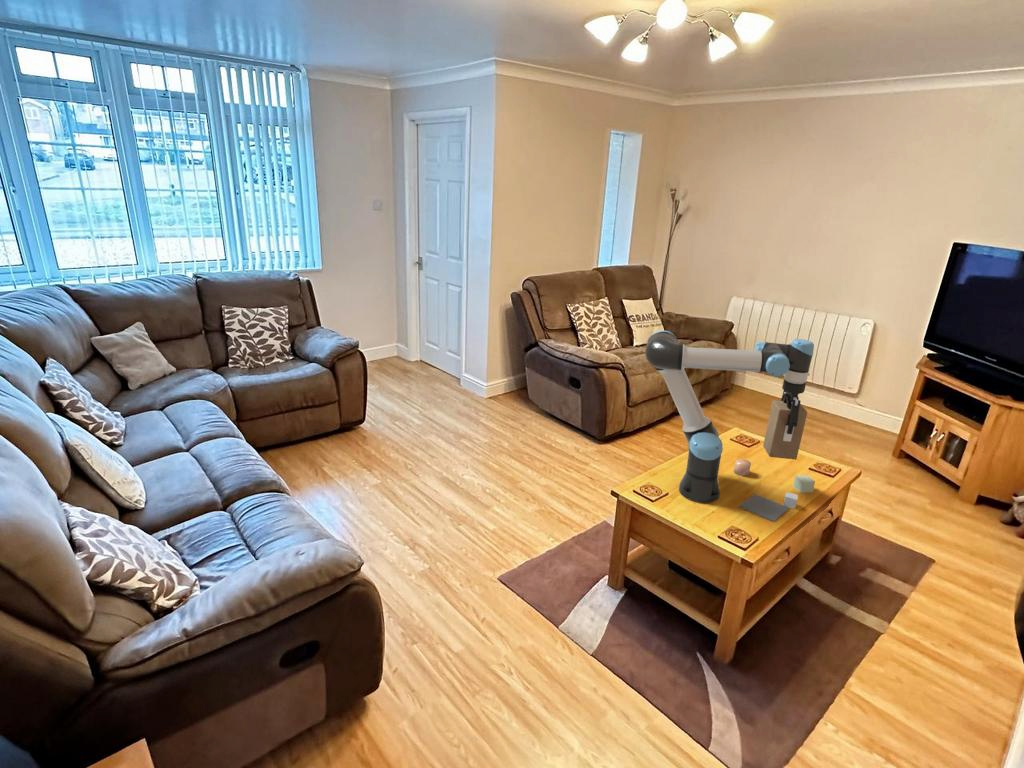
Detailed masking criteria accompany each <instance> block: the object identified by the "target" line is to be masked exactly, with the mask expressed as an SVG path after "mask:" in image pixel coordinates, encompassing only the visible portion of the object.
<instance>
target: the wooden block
mask: <svg viewBox="0 0 1024 768" xmlns="http://www.w3.org/2000/svg"><path fill="white" fill-rule="evenodd" d="M771 401H772V402H771V407H770V409H769V410H770V411H769V416H768V420H767V421H768V422H767V426H766V429H765V430H766V431H765V433H764V434H765V435H764V439H763V444H762V445H763V446H762V447H763V448H764V449H765V450H764V451H766V454H767V455H768V457H769V458H777V459H778V458H779V459H785V460H797V459H798V454H799V450H800V446H801V441H802V437H803V433H804V429H805V425H806V420H807V416H808V411H807V409H805V407H804V406H803V405H802V404H801V403H800V406H799V413H798V421H797V427H795V426H794V430H793V434H792V439H791V442H789V441H783V436H784V432H785V427H786V425H785V424H787V420H788V416H789V414H790V412H791V409H788V408H787V403H784V402H783V401H781V400H775V399H774V400H771Z"/></svg>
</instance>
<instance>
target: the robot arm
mask: <svg viewBox="0 0 1024 768" xmlns="http://www.w3.org/2000/svg"><path fill="white" fill-rule="evenodd" d="M814 348H815V343H814V342H813V341H811V340H807V339H802V338H799V339H798V338H795V339H792V341H791V343H790V344H789V343H788V344H786V343H777V342H768V341H758V342H756V343H755V345H754V348H753V350H750V349H747V350H746V349H732V348H731V349H728V348H711V347H710V348H709V347H690V346H689V347H688V346H686V345H685V344H684V343H683V344H681V343H679V341H678V338H677V337H676V335H675V334H673V332H671V331H668V330H658V331H656V332H654V333H653V334H651V335H650V336H649V338H648V339H647V343H646V347H645V354H644V355H645V359H646V360H647V362H648V363H649V365H651V366H652V367H654V369H655V371H656V372H658V373H660V374H661V376H662V378H663V379H664V382H665V384H666V386H667V389H668V391H669V393H670V396H671V397H672V401H673V402H674V404H675V406H676V407H675V408H677V411H678V413H679V416H680V418H681V420H682V422H683V426H682V430H681V431H682V432H683V434H684V436H685V438H686V441H687V443H688V453H687V454H688V455H687V464H686V470H685V473H684V475H683V477H682V479H680V483H679V486H678V491H679V493H680V494H681V495H682V497H684V498H686V499H688V500H691V501H692V502H695V503H696V502H697V503H704V504H705V503H707V504H708V503H709V504H711V503H713V502H716V501H718V499H719V498H720V493H721V490H720V484H719V479H718V476H719V471H720V465H721V464H720V463H721V458H722V453H723V449H724V448H723V441H722V439H721V438H720V435H719V431H718V430H717V428H716V427H715V426H714V424H713V422H712V420H711V418H710V417H708V416H705V413H704V411H703V408H702V406H701V404H700V402H699V400H698V397H697V395H696V394H695V391H694V389H693V386H692V384H691V382H690V379H689V378H688V375H687V373H686V370H685V369H702V370H715V371H716V370H719V371H734V372H735V371H736V372H738V371H739V372H750V373H752V372H754V373H767V374H769V375H770V376H773V377H782V376H783V377H784V379H783V382H782V390H783V392H782V394H781V395H782V396H781V398H780V401H783V402H784V403H787V408H788V409H791V412H790V414H789V416H788V420H787V424H785V425H786V427H785V432H784V436H783V441H789V442H791V439H792V434H793V430H794V426H795V427H797V421H798V413H799V406H800V404H801V400H800V399H799V395H800V394H803V393H805V390H806V385H807V383H806V382H807V380H808V376H810V373H809V372H810V368H811V363H812V360H813V359H812V358H813V356H814Z"/></svg>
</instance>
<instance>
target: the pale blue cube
mask: <svg viewBox="0 0 1024 768" xmlns="http://www.w3.org/2000/svg"><path fill="white" fill-rule="evenodd" d="M797 502H798V494H795V493H791V492H788V491H786V492H785V496H784V500H783V505H784V506H786V507H788V508H789V509H790V508H791V509H795V510H796V507H797Z"/></svg>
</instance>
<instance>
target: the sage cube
mask: <svg viewBox="0 0 1024 768" xmlns="http://www.w3.org/2000/svg"><path fill="white" fill-rule="evenodd" d="M794 477H795V478H794V481H793V485H792V486H793V488H794V489H796V490H797V491H798V492H799V493H801V494H805V493H806V494H809V493H813V492H814V488H815V483H816V481H815V480H814V479H813V478H811V477H810V476H809V475H808V474H805V475H804V474H803V475H795V476H794Z"/></svg>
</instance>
